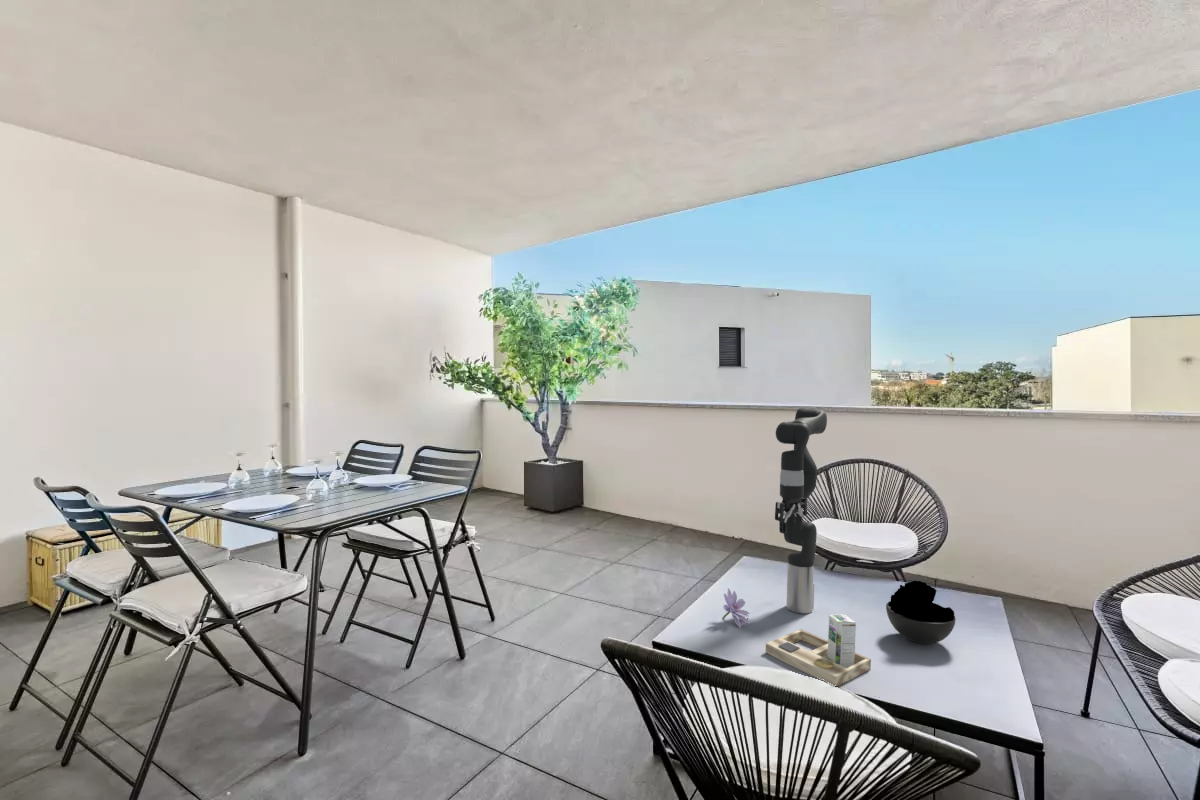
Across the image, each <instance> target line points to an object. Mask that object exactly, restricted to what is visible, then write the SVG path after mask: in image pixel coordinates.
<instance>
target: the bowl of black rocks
mask: <svg viewBox="0 0 1200 800" xmlns="http://www.w3.org/2000/svg"><path fill="white" fill-rule="evenodd" d="M936 594H937V589H936V588H934V587H933V586H931V585H930V584H929V585H928V584H927V583H926V582H925V581H921V580H913V581H909V582H905V583H904V585H902V584H899V588H897V590H896V591H895V592H894V593H893V594H890V595H891V596H890V601H888V602H887V603H886V605H885V610H886V614H887V618H888V620H889V622H890V624H891V625H892V627H893V628H894V629H895V631H897V632H898V634H900V635H901V636H902V637H904V638H906V639H907V640H909V641H911V642H914V643H917V644H924V645H925V644H926V645H929V644H936V643H939V642H941V641H943V640H945V639H946V638H947V637H948V636H949V635H950V634H951V633H952V631H953V629H954V627H955V626H956V620H957V619H956V616H955V611H954V610H953V608H951V607H950V606H947V607H944V606H942V605H940V604H938V603H935V602H934V601H935V597H936Z"/></svg>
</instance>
